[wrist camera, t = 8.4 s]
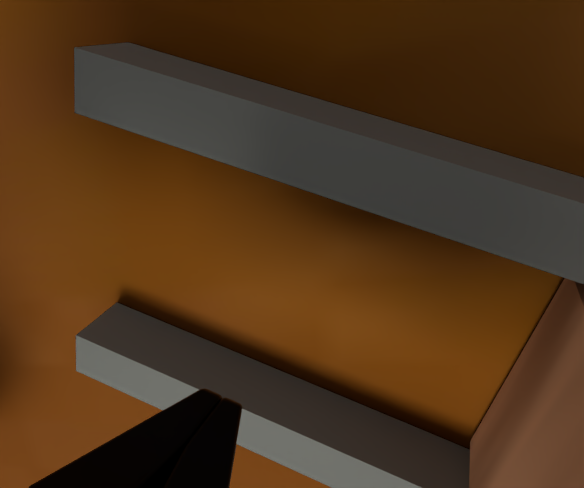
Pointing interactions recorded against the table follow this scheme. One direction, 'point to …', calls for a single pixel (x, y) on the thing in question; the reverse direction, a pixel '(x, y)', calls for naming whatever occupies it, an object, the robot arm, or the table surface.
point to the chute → (334, 185)
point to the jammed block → (538, 407)
